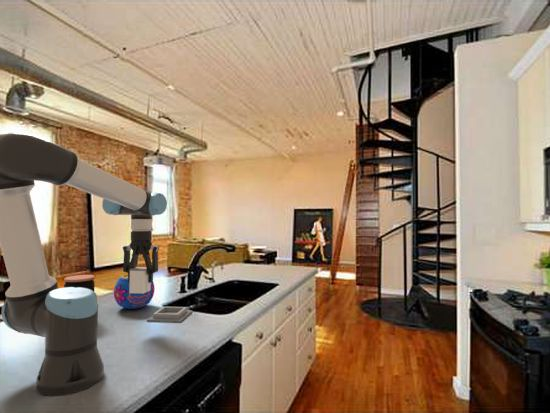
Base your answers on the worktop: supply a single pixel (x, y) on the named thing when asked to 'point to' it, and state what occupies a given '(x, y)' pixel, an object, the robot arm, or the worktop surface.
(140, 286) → the plug block
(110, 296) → the worktop surface
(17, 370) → the worktop surface
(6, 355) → the worktop surface
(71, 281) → the coffee jar
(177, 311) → the socket plate
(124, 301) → the ceramic pot
